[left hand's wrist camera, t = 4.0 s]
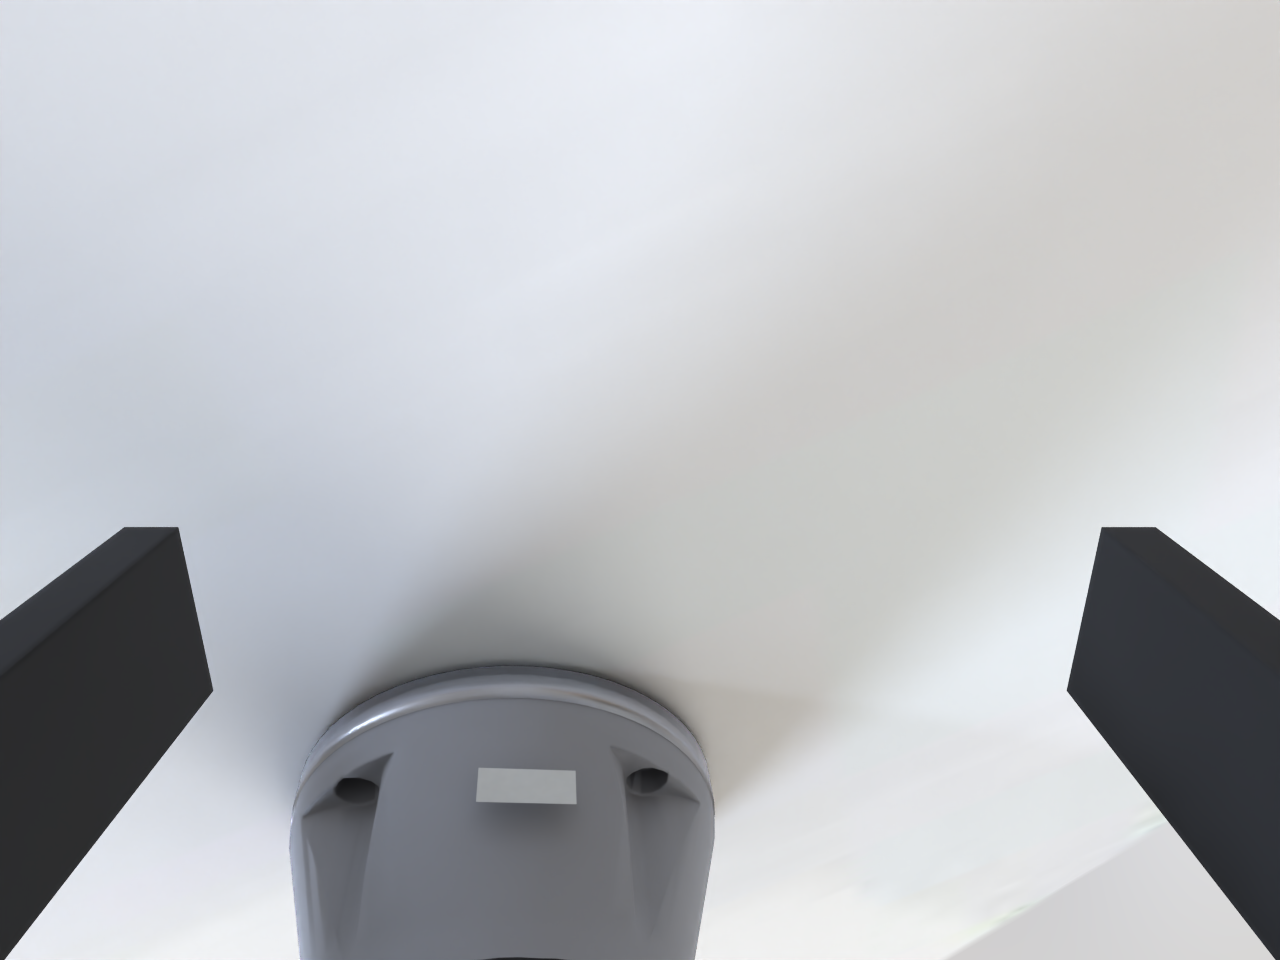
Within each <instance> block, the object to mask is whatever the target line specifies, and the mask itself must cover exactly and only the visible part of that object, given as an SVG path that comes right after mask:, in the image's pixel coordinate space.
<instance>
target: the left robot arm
mask: <svg viewBox="0 0 1280 960" xmlns="http://www.w3.org/2000/svg"><path fill="white" fill-rule="evenodd" d="M212 692H213V687H212V683H211V678H210V673H209V669H208V664H207V659H206V655H205V650H204V645H203V640H202V636H201V631H200V626H199V622H198V617H197V612H196V608H195V603H194V598H193V594H192V589H191V584H190V580H189V575H188V570H187V566H186V561H185V556H184V552H183V547H182V542H181V538H180V533H179V528H178V527H124V528H123V529H121V530H120V531H119V532H117V533H116V534H115V535H113V536H112V537H111V538H109V539H108V540H107V541H105V542H104V543H103V544H101V545H100V546H99V547H97V548H96V549H95V550H93V551H92V552H91V553H89V554H88V555H87V556H85V557H84V558H83V559H81V560H80V561H79V562H77V563H76V564H75V565H73V566H72V567H71V568H69V569H68V570H67V571H65V572H64V573H63V574H61V575H60V576H59V577H57V578H56V579H55V580H53V581H52V582H51V583H49V584H48V585H47V586H45V587H44V588H43V589H41V590H40V591H39V592H37V593H36V594H35V595H33V596H32V597H31V598H29V599H28V600H27V601H25V602H24V603H23V604H21V605H20V606H19V607H17V608H16V609H15V610H13V611H12V612H11V613H9V614H8V615H7V616H5V617H4V618H3V619H1V620H0V960H5V958H6V957H7V956H8V954H9V953H10V952H11V951H12V949H13V948H14V947H15V945H16V944H17V943H18V942H19V940H20V939H21V938H22V936H23V935H24V934H25V933H26V931H27V930H28V929H29V927H30V926H31V925H32V924H33V922H34V921H35V920H36V918H37V917H38V916H39V915H40V913H41V912H42V911H43V909H44V908H45V907H46V906H47V904H48V903H49V902H50V900H51V899H52V898H53V896H54V895H55V894H56V893H57V891H58V890H59V889H60V887H61V886H62V885H63V884H64V882H65V881H66V880H67V878H68V877H69V876H70V875H71V873H72V872H73V871H74V869H75V868H76V867H77V866H78V864H79V863H80V862H81V860H82V859H83V858H84V857H85V855H86V854H87V853H88V851H89V850H90V849H91V848H92V846H93V845H94V844H95V842H96V841H97V840H98V838H99V837H100V836H101V835H102V833H103V832H104V831H105V829H106V828H107V827H108V826H109V824H110V823H111V822H112V820H113V819H114V818H115V817H116V815H117V814H118V813H119V811H120V810H121V809H122V808H123V806H124V805H125V804H126V802H127V801H128V800H129V799H130V797H131V796H132V795H133V793H134V792H135V791H136V790H137V788H138V787H139V786H140V784H141V783H142V782H143V780H144V779H145V778H146V777H147V775H148V774H149V773H150V771H151V770H152V769H153V768H154V766H155V765H156V764H157V762H158V761H159V760H160V759H161V757H162V756H163V755H164V753H165V752H166V751H167V750H168V748H169V747H170V746H171V744H172V743H173V742H174V741H175V739H176V738H177V737H178V735H179V734H180V733H181V732H182V730H183V729H184V728H185V726H186V725H187V724H188V723H189V721H190V720H191V719H192V717H193V716H194V715H195V713H196V712H197V711H198V710H199V708H200V707H201V706H202V704H203V703H204V702H205V701H206V699H207V698H208V697H209V695H210V694H211V693H212ZM1067 692H1068V693H1069V694H1070V695H1071V697H1072V698H1073V699H1074V701H1075V702H1076V703H1077V704H1078V706H1079V707H1080V708H1081V710H1082V711H1083V712H1084V713H1085V715H1086V716H1087V717H1088V719H1089V720H1090V721H1091V723H1092V724H1093V725H1094V726H1095V728H1096V729H1097V730H1098V732H1099V733H1100V734H1101V735H1102V737H1103V738H1104V739H1105V741H1106V742H1107V743H1108V744H1109V746H1110V747H1111V748H1112V750H1113V751H1114V752H1115V753H1116V755H1117V756H1118V757H1119V759H1120V760H1121V761H1122V762H1123V764H1124V765H1125V766H1126V768H1127V769H1128V770H1129V771H1130V773H1131V774H1132V775H1133V777H1134V778H1135V779H1136V780H1137V782H1138V783H1139V784H1140V786H1141V787H1142V788H1143V790H1144V791H1145V792H1146V793H1147V795H1148V796H1149V797H1150V799H1151V800H1152V801H1153V802H1154V804H1155V805H1156V806H1157V808H1158V809H1159V810H1160V811H1161V813H1162V814H1163V815H1164V817H1165V818H1166V819H1167V820H1168V822H1169V823H1170V824H1171V826H1172V827H1173V828H1174V829H1175V831H1176V832H1177V833H1178V835H1179V836H1180V837H1181V838H1182V840H1183V841H1184V842H1185V844H1186V845H1187V846H1188V847H1189V849H1190V850H1191V851H1192V853H1193V854H1194V855H1195V857H1196V858H1197V859H1198V860H1199V862H1200V863H1201V864H1202V866H1203V867H1204V868H1205V869H1206V871H1207V872H1208V873H1209V875H1210V876H1211V877H1212V878H1213V880H1214V881H1215V882H1216V884H1217V885H1218V886H1219V887H1220V889H1221V890H1222V891H1223V893H1224V894H1225V895H1226V896H1227V898H1228V899H1229V900H1230V902H1231V903H1232V904H1233V905H1234V907H1235V908H1236V909H1237V911H1238V912H1239V913H1240V914H1241V916H1242V917H1243V918H1244V920H1245V921H1246V922H1247V923H1248V925H1249V926H1250V927H1251V929H1252V930H1253V931H1254V933H1255V934H1256V935H1257V936H1258V938H1259V939H1260V940H1261V941H1262V943H1263V944H1264V945H1265V947H1266V948H1267V949H1268V951H1269V952H1270V953H1271V954H1272V956H1273V957H1274V958H1275V960H1280V620H1279V619H1277V618H1276V617H1275V616H1273V615H1272V614H1271V613H1269V612H1268V611H1267V610H1265V609H1264V608H1263V607H1261V606H1260V605H1259V604H1257V603H1256V602H1255V601H1253V600H1252V599H1251V598H1249V597H1248V596H1247V595H1245V594H1244V593H1243V592H1241V591H1240V590H1239V589H1237V588H1236V587H1235V586H1233V585H1232V584H1231V583H1229V582H1228V581H1227V580H1225V579H1224V578H1223V577H1221V576H1220V575H1219V574H1217V573H1216V572H1215V571H1213V570H1212V569H1211V568H1209V567H1208V566H1207V565H1205V564H1204V563H1203V562H1201V561H1200V560H1199V559H1197V558H1196V557H1195V556H1193V555H1192V554H1191V553H1189V552H1188V551H1187V550H1185V549H1184V548H1183V547H1181V546H1180V545H1179V544H1177V543H1176V542H1175V541H1173V540H1172V539H1171V538H1169V537H1168V536H1167V535H1165V534H1164V533H1163V532H1161V531H1160V530H1159V529H1157V528H1156V527H1102V528H1101V533H1100V538H1099V542H1098V547H1097V552H1096V556H1095V561H1094V566H1093V570H1092V575H1091V580H1090V584H1089V589H1088V594H1087V598H1086V603H1085V608H1084V612H1083V617H1082V622H1081V626H1080V631H1079V636H1078V641H1077V645H1076V650H1075V655H1074V659H1073V664H1072V669H1071V673H1070V678H1069V683H1068V687H1067ZM714 815H715V812H714V800H713V794H712V788H711V783H710V777H709V772H708V767H707V763H706V759H705V757H704V754H703V752H702V749H701V748H700V746H699V744H698V742H697V741H696V739H695V737H694V736H693V735H692V734H691V732H690V731H689V730H688V729H687V727H686V726H685V725H684V724H683V723H682V722H681V721H680V720H679V719H678V718H677V717H676V716H674V715H673V714H672V713H670V712H669V711H668V710H667V709H665V708H664V707H663V706H661V705H660V704H658V703H656V702H655V701H653V700H652V699H650V698H648V697H646V696H644V695H642V694H640V693H638V692H636V691H634V690H632V689H630V688H628V687H625V686H623V685H620V684H618V683H615V682H612V681H609V680H606V679H602V678H599V677H596V676H592V675H588V674H583V673H579V672H574V671H568V670H562V669H555V668H546V667H534V666H491V667H478V668H470V669H461V670H456V671H450V672H445V673H440V674H435V675H432V676H428V677H424V678H420V679H417V680H414V681H411V682H408V683H405V684H402V685H399V686H396V687H394V688H392V689H389V690H387V691H385V692H383V693H380V694H378V695H376V696H374V697H372V698H371V699H369V700H367V701H365V702H363V703H362V704H360V705H358V706H357V707H355V708H354V709H352V710H351V711H349V712H348V713H347V714H345V715H344V716H343V717H342V718H340V719H339V720H338V721H337V722H336V723H334V724H333V725H332V726H331V727H330V728H329V729H328V730H327V731H326V732H325V734H324V735H323V736H322V737H321V738H320V739H319V741H318V742H317V744H316V745H315V746H314V748H313V749H312V751H311V753H310V755H309V757H308V759H307V761H306V763H305V766H304V769H303V772H302V775H301V779H300V783H299V786H298V790H297V794H296V798H295V801H294V805H293V811H292V817H291V831H290V846H289V849H290V859H291V870H292V880H293V890H294V901H295V911H296V921H297V932H298V942H299V952H300V960H694V959H695V953H696V947H697V941H698V935H699V929H700V923H701V917H702V911H703V905H704V899H705V894H706V888H707V882H708V876H709V870H710V864H711V858H712V852H713V845H714Z"/></svg>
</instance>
